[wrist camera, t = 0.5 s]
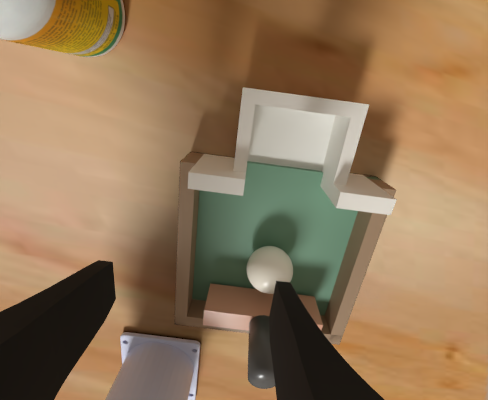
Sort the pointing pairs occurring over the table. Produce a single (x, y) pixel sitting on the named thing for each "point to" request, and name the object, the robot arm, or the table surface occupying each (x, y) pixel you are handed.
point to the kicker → (250, 324)
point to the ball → (269, 268)
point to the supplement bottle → (64, 24)
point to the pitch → (281, 206)
